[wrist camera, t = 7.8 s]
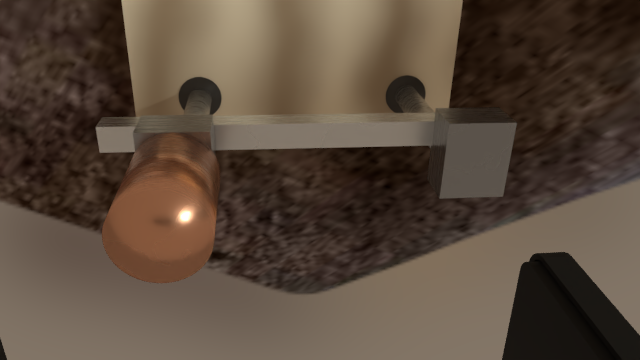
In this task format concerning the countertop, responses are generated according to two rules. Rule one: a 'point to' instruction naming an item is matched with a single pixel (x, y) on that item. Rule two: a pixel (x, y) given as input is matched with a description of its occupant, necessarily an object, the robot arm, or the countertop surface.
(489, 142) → the frame
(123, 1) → the board
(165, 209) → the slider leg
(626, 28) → the countertop surface
